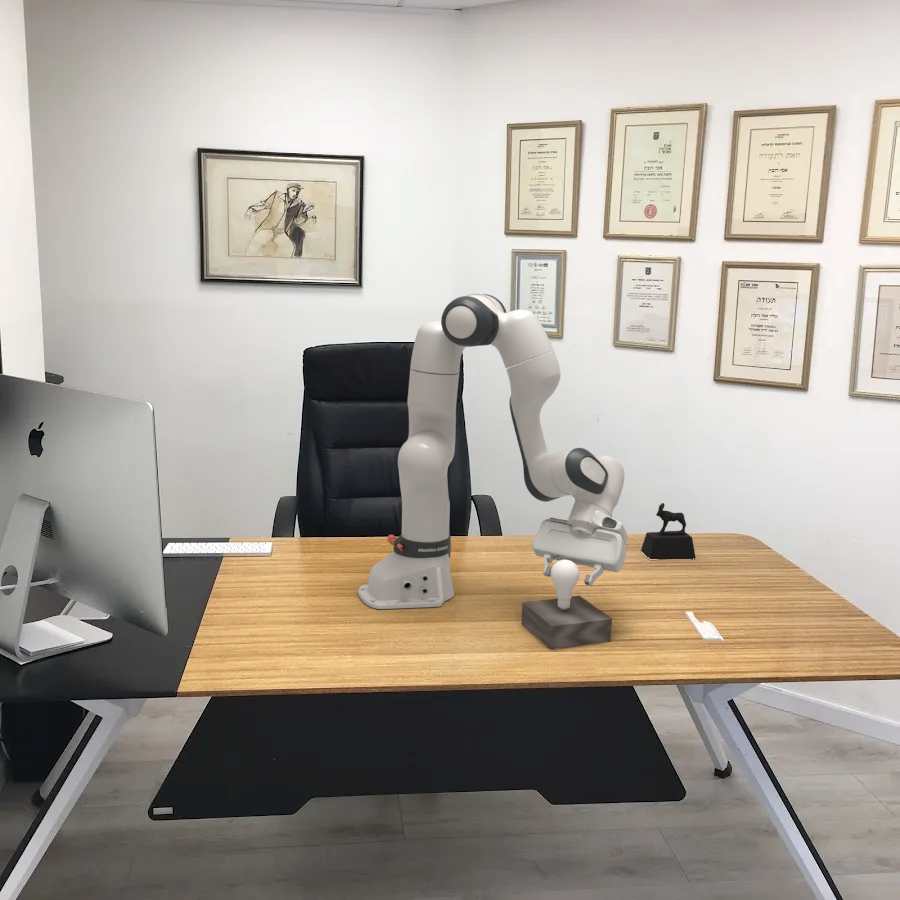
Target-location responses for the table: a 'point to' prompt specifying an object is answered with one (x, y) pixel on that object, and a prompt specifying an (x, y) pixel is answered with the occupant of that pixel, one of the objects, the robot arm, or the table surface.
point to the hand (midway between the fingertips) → (567, 579)
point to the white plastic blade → (705, 629)
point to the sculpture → (669, 539)
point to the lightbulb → (564, 581)
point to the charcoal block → (566, 622)
